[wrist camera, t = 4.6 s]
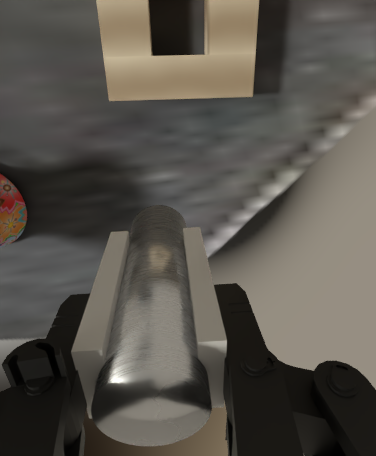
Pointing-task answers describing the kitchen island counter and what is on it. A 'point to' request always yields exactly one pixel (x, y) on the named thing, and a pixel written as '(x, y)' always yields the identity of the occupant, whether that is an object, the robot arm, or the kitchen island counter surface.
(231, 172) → the kitchen island counter surface
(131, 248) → the peg
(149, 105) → the kitchen island counter surface
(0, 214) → the mug
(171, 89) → the hole block
